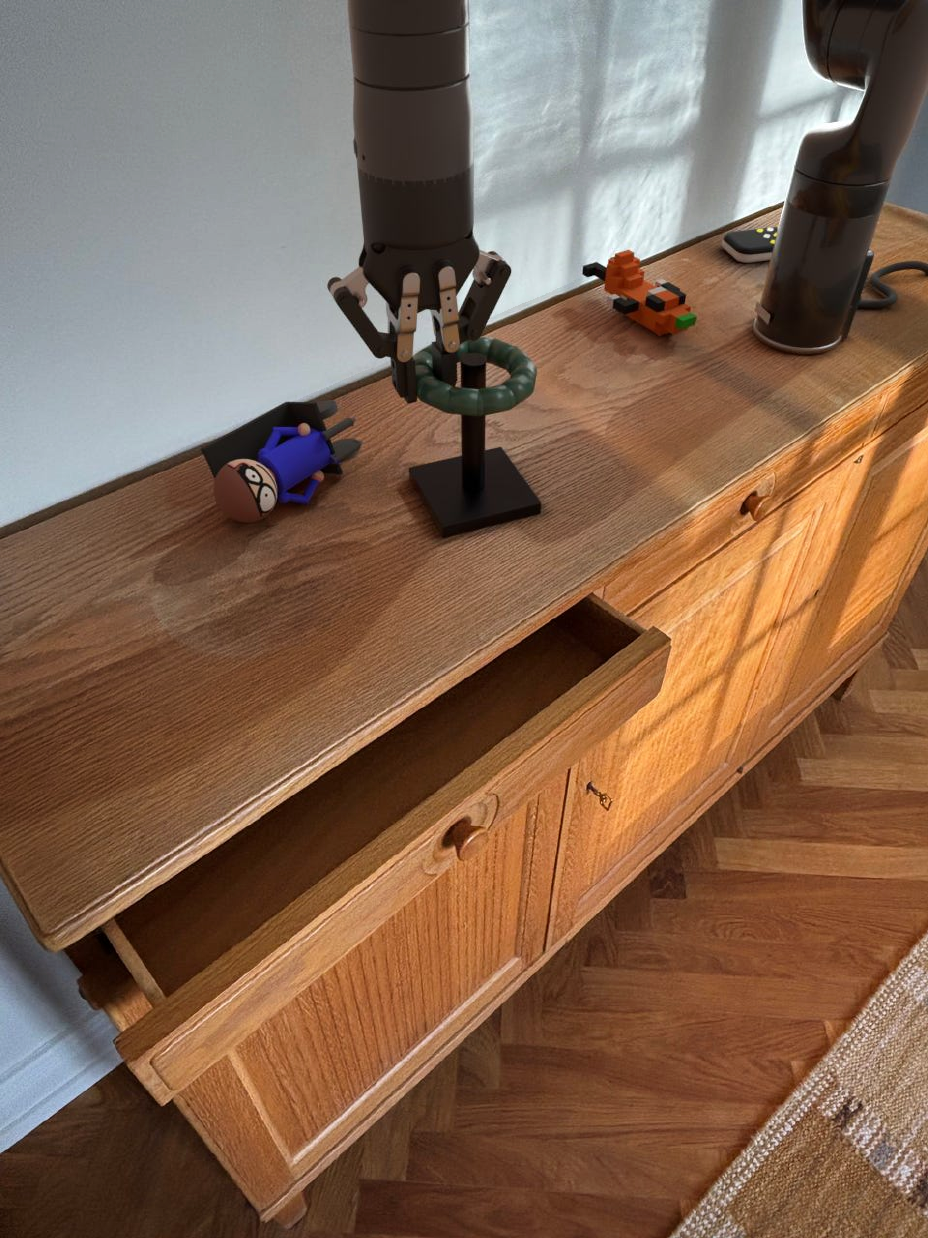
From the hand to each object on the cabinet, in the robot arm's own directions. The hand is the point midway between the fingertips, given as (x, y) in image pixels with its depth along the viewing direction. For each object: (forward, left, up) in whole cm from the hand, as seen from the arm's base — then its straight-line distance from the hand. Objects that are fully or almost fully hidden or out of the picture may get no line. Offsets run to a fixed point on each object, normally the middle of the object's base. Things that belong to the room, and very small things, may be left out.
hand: (425, 393), depth 68 cm
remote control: (-59, -34, -11) cm, 69 cm away
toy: (-34, -24, -11) cm, 43 cm away
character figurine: (+11, -6, -11) cm, 17 cm away
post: (-4, 0, -11) cm, 12 cm away
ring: (-4, 0, +1) cm, 4 cm away
